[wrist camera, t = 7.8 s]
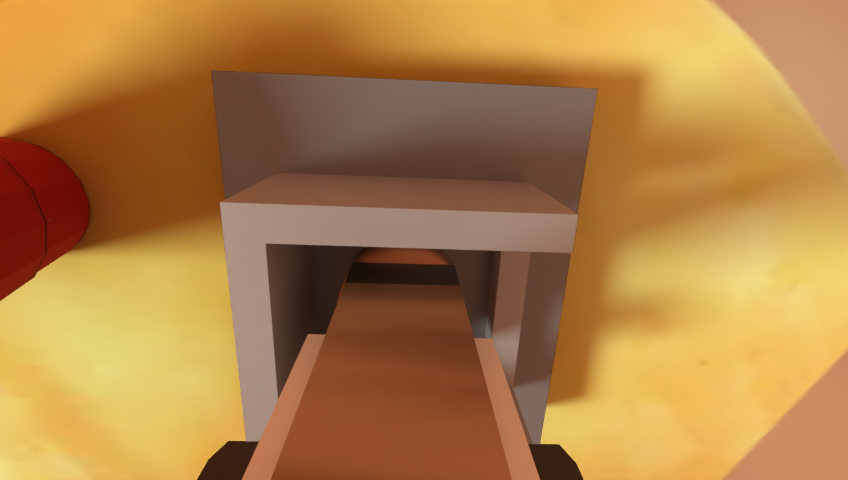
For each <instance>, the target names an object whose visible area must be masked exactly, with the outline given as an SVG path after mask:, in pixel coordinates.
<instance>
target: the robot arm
mask: <svg viewBox="0 0 848 480" xmlns="http://www.w3.org/2000/svg"><path fill="white" fill-rule="evenodd" d="M325 335H326V334H308V335H307V337H306V340H305V342H304V344H303V346H302V348H301V351H300V353H299V355H298V357H297V359H296V362H295V364H294V366H293V368H292V370H291V373H290V375H289V377H288V379H287V381H286V384H285V386H284V388H283V390H282V392H281V395H280V397H279V399H278V401H277V403H276V406H275V408H274V410H273V412H272V414H271V417H270V419H269V421H268V423H267V425H266V428H265V430H264V432H263V434H262V436H261V439H260V441H259V442H258V441H228V442H227V443H226V444H225V445H224V446H223V447H222V448H221V449H219V450H218V451H217V452H216V453H215V454H214V455H213V456H212V457H211V458H210V459H209V460H208V462H207V463H206V465H205V467H204V469H203V470H202V472H201V474H200V476H199V477H198V479H197V480H271V478H272V475H273V472H274V470H275V467H276V464H277V462H278V459H279V456H280V454H281V451H282V448H283V446H284V443H285V440H286V438H287V435H288V433H289V430H290V427H291V425H292V422H293V419H294V417H295V414H296V411H297V409H298V406H299V403H300V401H301V398H302V395H303V393H304V390H305V388H306V385H307V382H308V380H309V377H310V374H311V372H312V369H313V366H314V364H315V361H316V358H317V356H318V353H319V350H320V348H321V345H322V343H323V340H324V337H325ZM474 340H475V344H476V347H477V351H478V355H479V359H480V362H481V366H482V370H483V374H484V377H485V381H486V385H487V388H488V392H489V396H490V400H491V403H492V407H493V411H494V415H495V418H496V422H497V426H498V430H499V433H500V437H501V441H502V445H503V448H504V452H505V456H506V459H507V463H508V467H509V471H510V474H511V478H512V480H583V477H582V475H581V473H580V471H579V469H578V466H577V464H576V462H575V461H574V460H573V459H572V458H571V457H570V456H569V455H568V454H567V453H566V452H565V451H564V449H563V448H562V447H561V446H560V445H556V444H528V442H527V439H526V436H525V433H524V430H523V428H522V425H521V422H520V419H519V416H518V413H517V410H516V407H515V404H514V401H513V398H512V395H511V392H510V389H509V386H508V383H507V380H506V377H505V374H504V371H503V368H502V365H501V362H500V359H499V356H498V353H497V350H496V347H495V344H494V341H493V339H490V338H474Z"/></svg>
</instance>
